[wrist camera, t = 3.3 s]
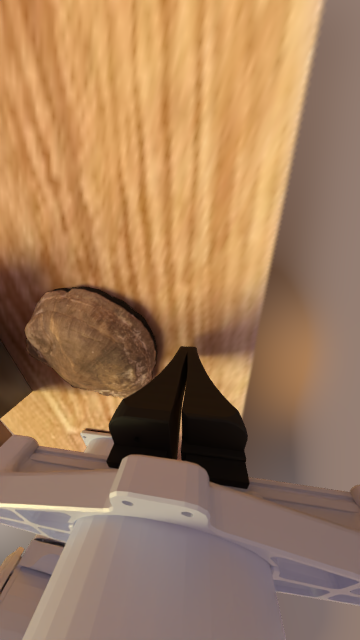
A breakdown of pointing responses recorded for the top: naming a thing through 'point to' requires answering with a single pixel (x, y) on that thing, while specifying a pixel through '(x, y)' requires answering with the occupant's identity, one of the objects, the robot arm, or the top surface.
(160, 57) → the top surface
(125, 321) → the shell
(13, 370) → the walnut shelf
